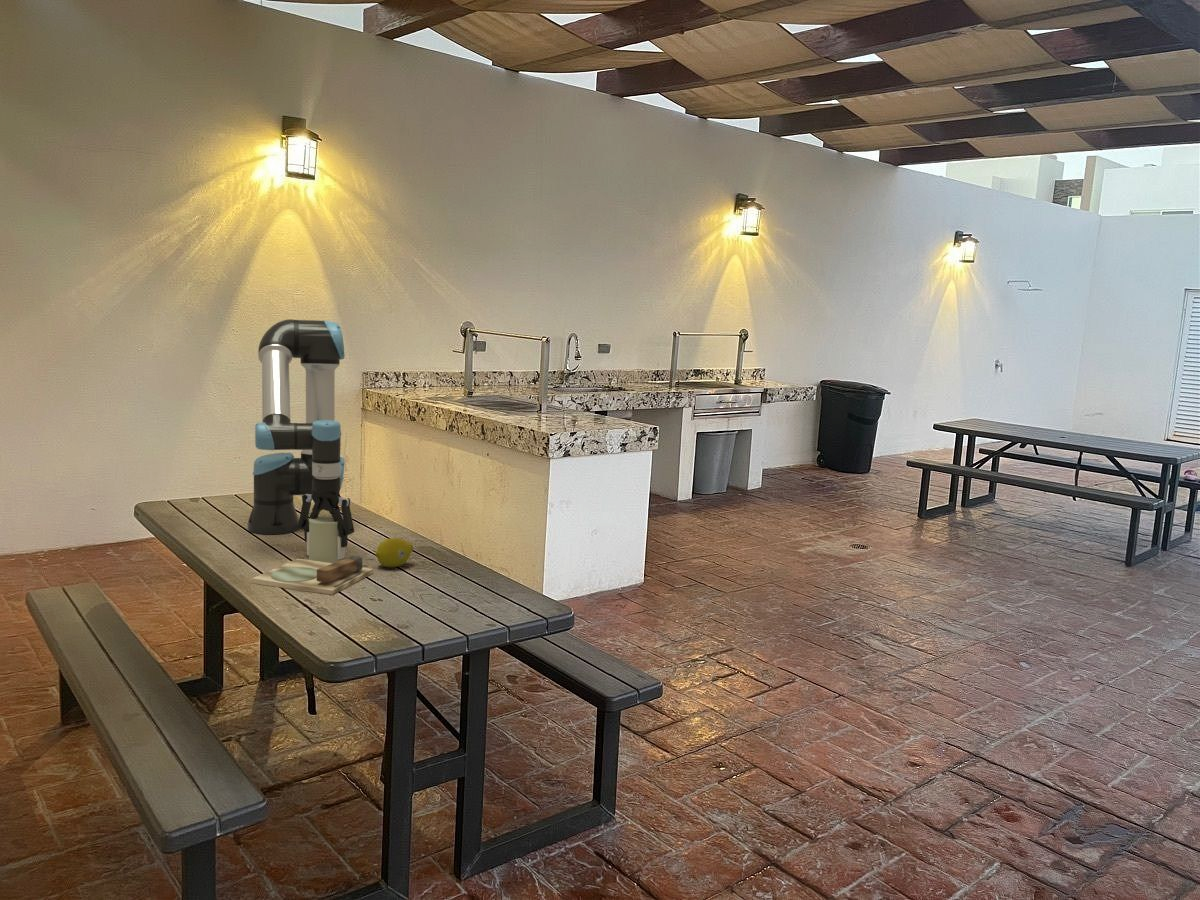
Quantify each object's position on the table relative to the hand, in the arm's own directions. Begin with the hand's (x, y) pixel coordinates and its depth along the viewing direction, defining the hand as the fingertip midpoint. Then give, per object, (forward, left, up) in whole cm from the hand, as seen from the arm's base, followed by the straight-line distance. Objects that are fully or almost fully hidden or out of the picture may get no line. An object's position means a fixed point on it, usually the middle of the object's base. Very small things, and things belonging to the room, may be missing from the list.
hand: (325, 556), depth 256 cm
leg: (+16, +14, +1) cm, 21 cm away
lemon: (-2, +20, -1) cm, 20 cm away
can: (0, 0, -1) cm, 1 cm away
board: (+16, +6, -1) cm, 17 cm away
